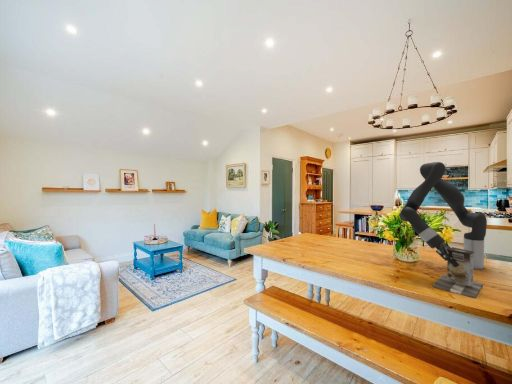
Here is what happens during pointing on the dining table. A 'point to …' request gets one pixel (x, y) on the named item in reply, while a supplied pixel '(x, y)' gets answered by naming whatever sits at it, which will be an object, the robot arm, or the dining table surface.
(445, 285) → the grey white flat rectangle
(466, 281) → the coffee box
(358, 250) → the dining table surface
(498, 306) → the dining table surface
